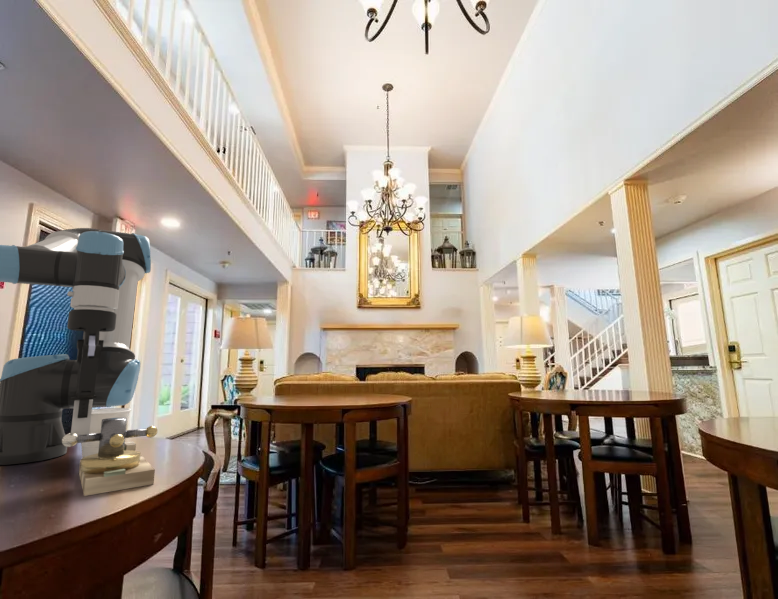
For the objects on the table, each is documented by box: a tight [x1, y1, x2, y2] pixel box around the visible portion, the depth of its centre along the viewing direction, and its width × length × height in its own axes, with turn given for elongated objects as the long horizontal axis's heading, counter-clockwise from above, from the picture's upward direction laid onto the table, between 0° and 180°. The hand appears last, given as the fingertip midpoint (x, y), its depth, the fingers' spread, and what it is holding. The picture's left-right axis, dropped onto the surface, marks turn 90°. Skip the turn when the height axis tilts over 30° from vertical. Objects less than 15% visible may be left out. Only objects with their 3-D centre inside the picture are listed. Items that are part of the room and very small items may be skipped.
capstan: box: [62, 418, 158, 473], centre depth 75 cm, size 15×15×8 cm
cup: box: [80, 407, 132, 459], centre depth 89 cm, size 10×10×11 cm
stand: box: [78, 441, 156, 497], centre depth 76 cm, size 18×10×5 cm, turn 40°
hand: (79, 435), depth 75 cm, fingers closed
